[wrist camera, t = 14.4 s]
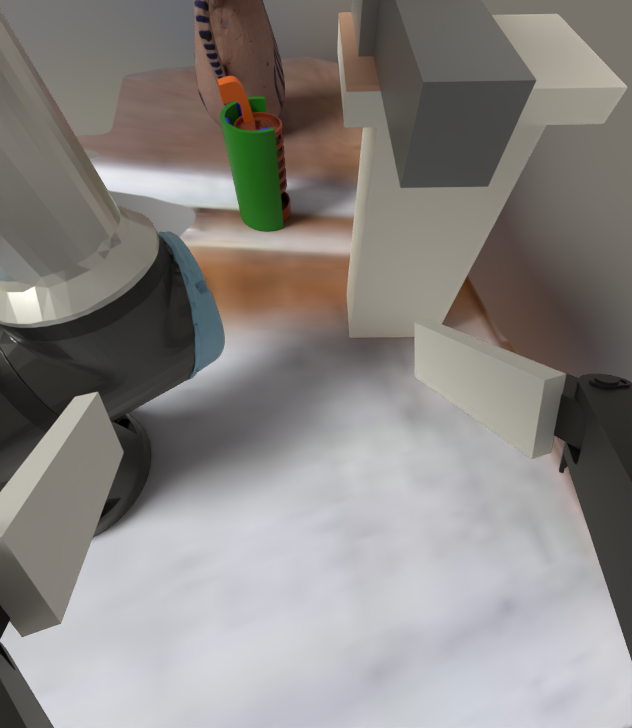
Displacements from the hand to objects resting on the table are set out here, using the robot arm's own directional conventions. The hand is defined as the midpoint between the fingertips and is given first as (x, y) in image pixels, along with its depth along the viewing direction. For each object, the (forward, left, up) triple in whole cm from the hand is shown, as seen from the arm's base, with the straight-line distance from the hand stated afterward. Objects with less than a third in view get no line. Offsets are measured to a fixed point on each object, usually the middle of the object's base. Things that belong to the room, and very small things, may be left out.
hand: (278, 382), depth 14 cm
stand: (+12, +24, -27) cm, 38 cm away
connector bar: (+8, +19, +3) cm, 21 cm away
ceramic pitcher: (-13, +75, -27) cm, 81 cm away
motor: (-7, +47, -27) cm, 55 cm away
